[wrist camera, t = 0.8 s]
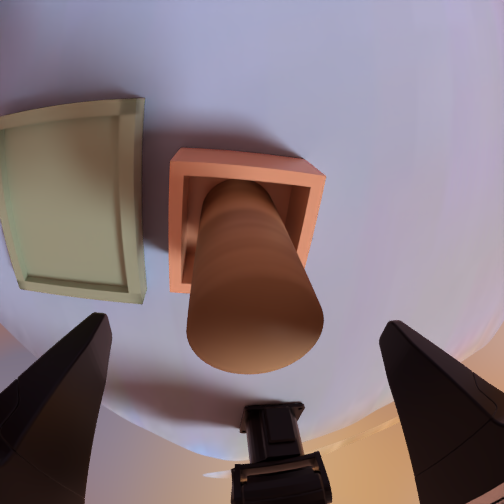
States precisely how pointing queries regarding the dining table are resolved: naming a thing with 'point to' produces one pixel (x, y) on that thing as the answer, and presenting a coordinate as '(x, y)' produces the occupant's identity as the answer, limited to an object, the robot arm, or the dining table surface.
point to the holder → (246, 168)
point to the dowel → (248, 285)
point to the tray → (75, 199)
